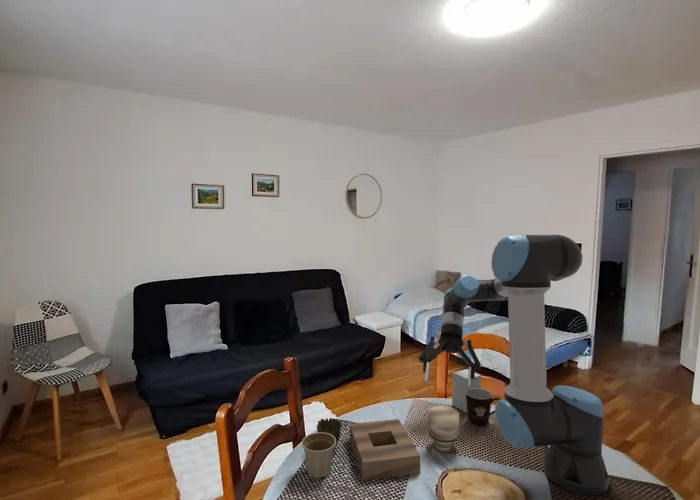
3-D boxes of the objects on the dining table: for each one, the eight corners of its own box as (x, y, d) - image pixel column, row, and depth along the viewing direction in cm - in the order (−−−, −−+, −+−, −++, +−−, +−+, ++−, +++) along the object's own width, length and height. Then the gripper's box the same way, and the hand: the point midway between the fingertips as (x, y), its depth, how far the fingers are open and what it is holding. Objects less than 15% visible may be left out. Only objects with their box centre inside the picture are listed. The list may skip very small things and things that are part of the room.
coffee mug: (461, 423, 131) (461, 395, 131) (469, 413, 138) (470, 386, 138) (497, 434, 125) (497, 403, 124) (503, 422, 132) (504, 394, 131)
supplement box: (466, 413, 138) (466, 379, 137) (451, 405, 145) (451, 372, 144) (481, 408, 142) (481, 374, 141) (465, 400, 148) (466, 368, 147)
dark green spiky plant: (338, 457, 113) (338, 431, 112) (314, 454, 114) (313, 428, 114) (343, 443, 120) (343, 418, 120) (320, 440, 122) (320, 416, 121)
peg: (464, 454, 114) (464, 418, 113) (435, 458, 112) (435, 421, 111) (450, 438, 123) (451, 404, 122) (423, 441, 121) (423, 407, 120)
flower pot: (304, 460, 112) (304, 431, 111) (337, 461, 111) (337, 432, 111) (299, 482, 102) (299, 451, 102) (335, 483, 102) (334, 451, 101)
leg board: (420, 473, 106) (420, 455, 105) (362, 480, 103) (362, 462, 103) (398, 433, 125) (398, 418, 125) (349, 439, 123) (349, 423, 122)
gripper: (488, 336, 138) (487, 394, 125) (418, 329, 146) (410, 384, 133) (489, 325, 132) (487, 385, 120) (416, 319, 141) (407, 375, 128)
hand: (447, 385), depth 126 cm, fingers open, 13 cm apart
